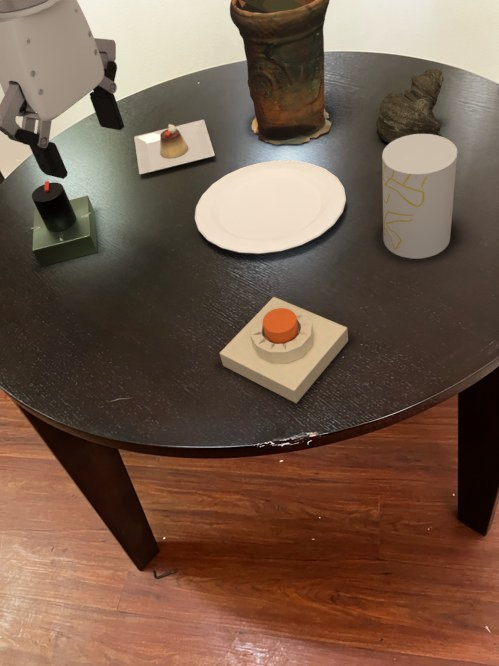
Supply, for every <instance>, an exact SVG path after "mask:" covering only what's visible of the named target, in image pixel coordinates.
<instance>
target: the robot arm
mask: <svg viewBox="0 0 499 666" xmlns="http://www.w3.org/2000/svg"><path fill="white" fill-rule="evenodd" d="M116 54H117V43H116V41H115V40H114V39H108V38H98V37H94V34H93V32H92V29H91V27H90V25H89V23H88V20H87V18H86V16H85V13H84V11H83V10H82V7H81V5H80V3H79V2H78V0H0V87H1V89H2V92H3V94H4V96H3V98H2V100H1V102H0V132H1V133H2V134H4V135H5V136H7V138H8V139H9V140H11V141H14V142H18V143H19V144H20V143H21V144H22V145H26V146H29V148H30V151H31V152H32V155H33V157H34V159H35V161H36V163H37V166H38V168H39V170H40V171H41V172H42V173H43V175H46V176H49V177H53V178H57V179H62V180H64V179H65V178H66V177H68V173H69V172H68V170H67V167H66V165H65V163H64V160H63V158H62V156H61V154H60V151H59V149H58V146H57V144H56V143H54V142H52V141H50V136H51V127H52V121H53V120H55V119H56V118H58V117H60V116H61V115H62V114H64V113H65V112H66V111H67V110H69V109H70V108H72V106H75V105H76V104H77V103H78V102H79V101H80V100H82V99H83V98H84V97H86V96H87V95H88V94H89V98H90V102H91V104H92V107H93V110H94V112H95V115H96V118H97V121H98V123H99V125H100V127H101V128H105V129H110V130H116V131H121V130H123V129H124V128H125V124H124V123H125V122H124V120H123V117H122V115H121V111H120V109H119V105H118V102H117V100H116V96H115V93H116V92H117V89H118V86H117V84H116V82H115V80H116V75H117V70H118V65H117V62H116V59H117V55H116ZM17 117H19V118H21V117H22V122H21V126H20V125H19V123H17V121H16V119H17ZM37 121H38V122H37ZM36 122H37V129H36ZM35 130H36V132H35Z"/></svg>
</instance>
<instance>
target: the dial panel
mask: <svg viewBox="0 0 499 666" xmlns="http://www.w3.org/2000/svg"><path fill="white" fill-rule="evenodd" d="M69 201H70V203H71V206H72V208H73V210H74V213H75V215H76V220H75V222H74V223H73V224H72V225H71V226H70V227H68V228H66V229H64V230H60V231H50V230H48V229H47V228H46V226H45V224H44V222H43V220H42V218H41V216H40V214H39V212H38V210H37V208H34V209H33V212H34V213H33V227H30V231H32V253H33V255H34V257H35V259H36V260H37V262H38V264H39V267H40V268H42V267H47V266H51V265H55V264H59V263H61V262H65V261H69V260H73V259H77V258H81V257H85V256H88V255H93V254H96V253H98V244H97V243H98V242H97V241H98V240H97V229H96V214H95V210H94V209H95V208H94V207H93V204H92V201H91V200H90V197H89V196H88V195H84V196H80V197H76V198H72V199H69Z"/></svg>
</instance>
